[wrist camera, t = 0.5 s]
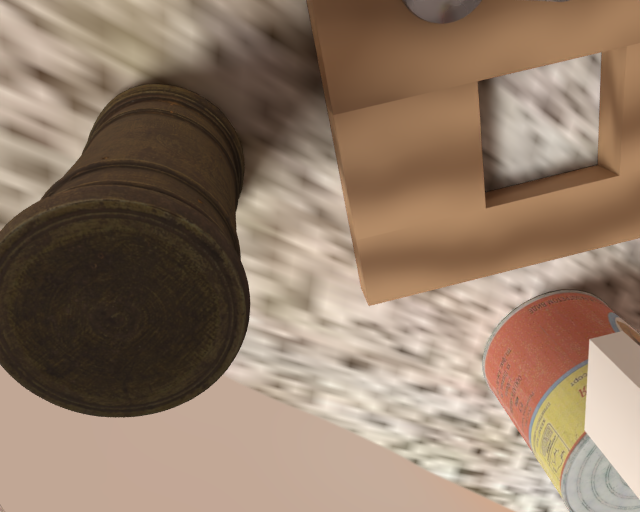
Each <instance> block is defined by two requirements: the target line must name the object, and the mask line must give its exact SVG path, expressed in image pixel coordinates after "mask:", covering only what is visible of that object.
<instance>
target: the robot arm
mask: <svg viewBox="0 0 640 512" xmlns="http://www.w3.org/2000/svg"><path fill="white" fill-rule="evenodd" d="M584 430H585V432H586V433H587V434H588V435H589V437H590V438H591V439H592V440H593V442H594V443H595V444H596V445H597V447H598V448H599V449H600V450H601V452H602V453H603V454H604V455H605V457H606V458H607V459H608V461H609V462H610V463H611V464H612V466H613V467H614V468H615V469H616V471H617V472H618V473H619V474H620V476H621V477H622V478H623V479H624V481H625V482H626V483H627V484H628V486H629V487H630V488H631V489H632V491H633V492H634V493H635V495H636V496H637V497H638V498H639V500H640V346H639V345H638V344H637V343H636V342H635V341H633V340H632V339H631V338H630V337H629V336H628V335H627V334H626V333H624V332H623V331H620V332H616V333H612V334H608V335H604V336H600V337H596V338H592V339H589V356H588V375H587V393H586V411H585V429H584ZM0 512H5V511H4V509H3V508H2V507H1V505H0Z"/></svg>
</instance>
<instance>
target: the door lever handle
mask: <svg viewBox="0 0 640 512" xmlns="http://www.w3.org/2000/svg"><path fill="white" fill-rule="evenodd" d="M402 1H403V3H404V4H405V6H406V7H407V8H408V10H409V11H410V12H411V13H412V14H414V15H415V16H416V17H418V18H420V19H422V20H424V21H427V22H431V23H438V24H445V23H451V22H455V21H458V20H460V19H462V18H464V17H465V16H467V15H468V14H470V13H471V12H472V11H473V10H474V9H475V8H476V7H477V6H478V5H479V4H480V2H481V1H482V0H402ZM529 1H551V2H565V1H570V0H529Z"/></svg>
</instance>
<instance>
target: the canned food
mask: <svg viewBox="0 0 640 512" xmlns="http://www.w3.org/2000/svg"><path fill="white" fill-rule="evenodd" d="M620 331H623V332H624V333H626V334H627V335H628V336H629V337H630V338H631V339H632V340H633V341H635V342H636V343H637V344H638V345H639V346H640V334H639V333H638V332H637V331H636V330H635V329H633V328H632V327H631V326H630V325H629V324H627V323H626V322H625V321H624V320H623V319H622V318H620V317H619V316H618V315H617V314H616V313H614V312H613V311H612V310H611V309H610V308H609V306H608V305H607V304H606V303H605V302H603V301H602V300H601V299H599V298H598V297H596V296H594V295H592V294H590V293H587V292H583V291H577V290H560V291H554V292H550V293H546V294H543V295H540V296H537V297H535V298H533V299H531V300H529V301H527V302H525V303H524V304H522V305H520V306H519V307H517V308H516V309H515V310H513V311H512V312H511V313H510V314H509V315H508V316H506V317H505V318H504V319H503V321H502V322H501V323H500V324H499V325H498V326H497V328H496V329H495V330H494V332H493V334H492V335H491V337H490V339H489V341H488V343H487V345H486V348H485V352H484V356H483V374H484V378H485V381H486V383H487V385H488V387H489V388H490V390H491V391H492V392H493V394H494V395H495V396H496V397H497V398H498V400H499V401H500V403H501V405H502V406H503V408H504V409H505V411H506V412H507V414H508V415H509V417H510V418H511V420H512V421H513V423H514V424H515V426H516V428H517V429H518V431H519V432H520V434H521V435H522V437H523V438H524V440H525V441H526V443H527V444H528V446H529V447H530V449H531V451H532V452H533V454H534V455H535V457H536V458H537V460H538V461H539V463H540V464H541V466H542V467H543V469H544V471H545V472H546V474H547V475H548V477H549V478H550V480H551V481H552V483H553V484H554V486H555V487H556V489H557V490H558V492H559V494H560V495H561V497H562V498H563V501H564V504H565V505H566V507H567V509H568V510H569V512H640V500H639V498H638V497H637V496H636V495H635V493H634V492H633V491H632V489H631V488H630V487H629V486H628V484H627V483H626V482H625V481H624V479H623V478H622V477H621V476H620V474H619V473H618V472H617V471H616V469H615V468H614V467H613V466H612V464H611V463H610V462H609V461H608V459H607V458H606V457H605V455H604V454H603V453H602V452H601V450H600V449H599V448H598V447H597V445H596V444H595V443H594V442H593V440H592V439H591V438H590V437H589V435H588V434H587V433H586V432H585V430H584V429H585V411H586V393H587V375H588V356H589V339H592V338H596V337H600V336H604V335H608V334H612V333H616V332H620Z"/></svg>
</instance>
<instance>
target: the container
mask: <svg viewBox="0 0 640 512" xmlns="http://www.w3.org/2000/svg"><path fill="white" fill-rule="evenodd" d="M243 177H244V156H243V151H242V147H241V144H240V141H239V139H238V136H237V134H236V132H235V130H234V128H233V127H232V125H231V124H230V122H229V121H228V119H227V118H226V117H225V116H224V114H223V113H222V112H221V111H220V110H219V109H218V108H217V107H215V106H214V105H213V104H212V103H210V102H209V101H208V100H206V99H204V98H203V97H201V96H199V95H198V94H195V93H193V92H191V91H189V90H186V89H183V88H179V87H175V86H170V85H162V84H149V85H142V86H137V87H134V88H131V89H129V90H126V91H124V92H123V93H121V94H119V95H118V96H116V97H115V98H114V99H113V100H111V101H110V102H109V103H108V104H107V106H106V107H105V108H104V109H103V111H102V112H101V113H100V115H99V116H98V118H97V120H96V122H95V124H94V126H93V128H92V130H91V132H90V135H89V138H88V142H87V144H86V146H85V148H84V150H83V152H82V155H81V157H80V158H79V159H78V160H77V162H76V163H75V164H74V165H73V166H72V167H71V168H70V170H69V171H68V172H67V173H66V174H65V175H64V176H63V178H61V179H60V180H58V181H57V182H56V183H55V184H54V185H53V186H52V187H50V189H49V190H48V191H47V192H46V193H45V194H44V196H43V197H42V198H41V200H40V201H38V202H36V203H35V204H33V205H31V206H30V207H28V208H26V209H25V210H23V211H22V212H21V213H19V214H18V215H17V216H15V217H14V218H13V219H12V220H11V221H10V222H8V223H7V224H6V226H5V227H4V228H3V229H2V230H1V231H0V365H1V366H2V367H3V368H4V369H5V370H6V371H7V372H8V373H9V374H10V375H11V376H12V377H13V378H14V379H15V380H16V381H17V382H18V383H20V384H21V385H22V386H23V387H25V388H26V389H28V390H29V391H31V392H32V393H34V394H35V395H37V396H39V397H41V398H42V399H45V400H46V401H48V402H50V403H53V404H55V405H57V406H60V407H62V408H65V409H68V410H71V411H74V412H79V413H83V414H87V415H93V416H101V417H135V416H143V415H148V414H154V413H158V412H161V411H165V410H168V409H171V408H174V407H176V406H178V405H181V404H183V403H185V402H187V401H189V400H191V399H193V398H194V397H196V396H198V395H199V394H201V393H202V392H204V391H205V390H206V389H208V388H209V387H210V386H211V385H212V384H214V383H215V382H216V381H217V380H218V379H219V378H220V377H221V376H222V375H223V374H224V372H225V371H226V370H227V369H228V367H229V366H230V365H231V363H232V362H233V360H234V359H235V357H236V355H237V353H238V352H239V349H240V347H241V345H242V343H243V340H244V338H245V335H246V332H247V327H248V323H249V314H250V294H249V285H248V281H247V277H246V273H245V270H244V268H243V265H242V263H241V255H240V246H239V240H238V236H237V233H236V209H237V205H238V199H239V196H240V193H241V190H242V184H243Z"/></svg>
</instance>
